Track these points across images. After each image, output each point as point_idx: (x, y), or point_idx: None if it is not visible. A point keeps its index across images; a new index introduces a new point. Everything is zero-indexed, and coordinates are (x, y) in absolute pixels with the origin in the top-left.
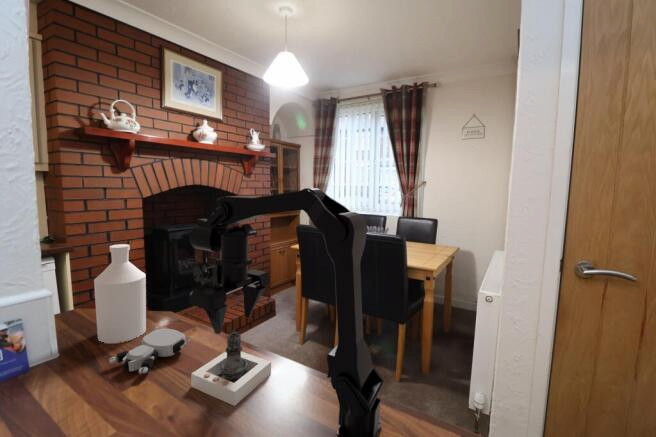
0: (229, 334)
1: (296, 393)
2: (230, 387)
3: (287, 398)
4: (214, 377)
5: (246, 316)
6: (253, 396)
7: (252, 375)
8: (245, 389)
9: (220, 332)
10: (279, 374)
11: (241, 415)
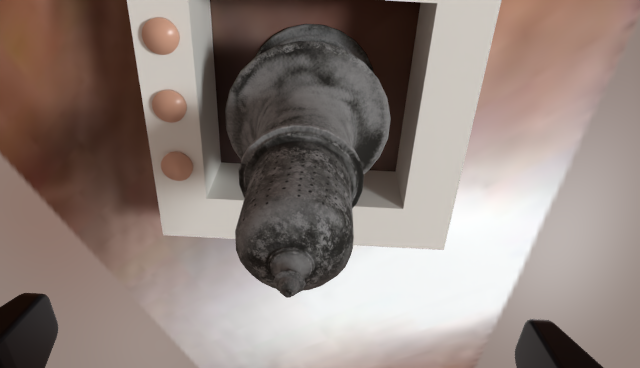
0: (272, 226)
1: (356, 330)
2: (173, 202)
3: (318, 318)
4: (179, 83)
5: (523, 340)
6: None
7: None
8: None
9: (49, 348)
10: None
11: (162, 240)
